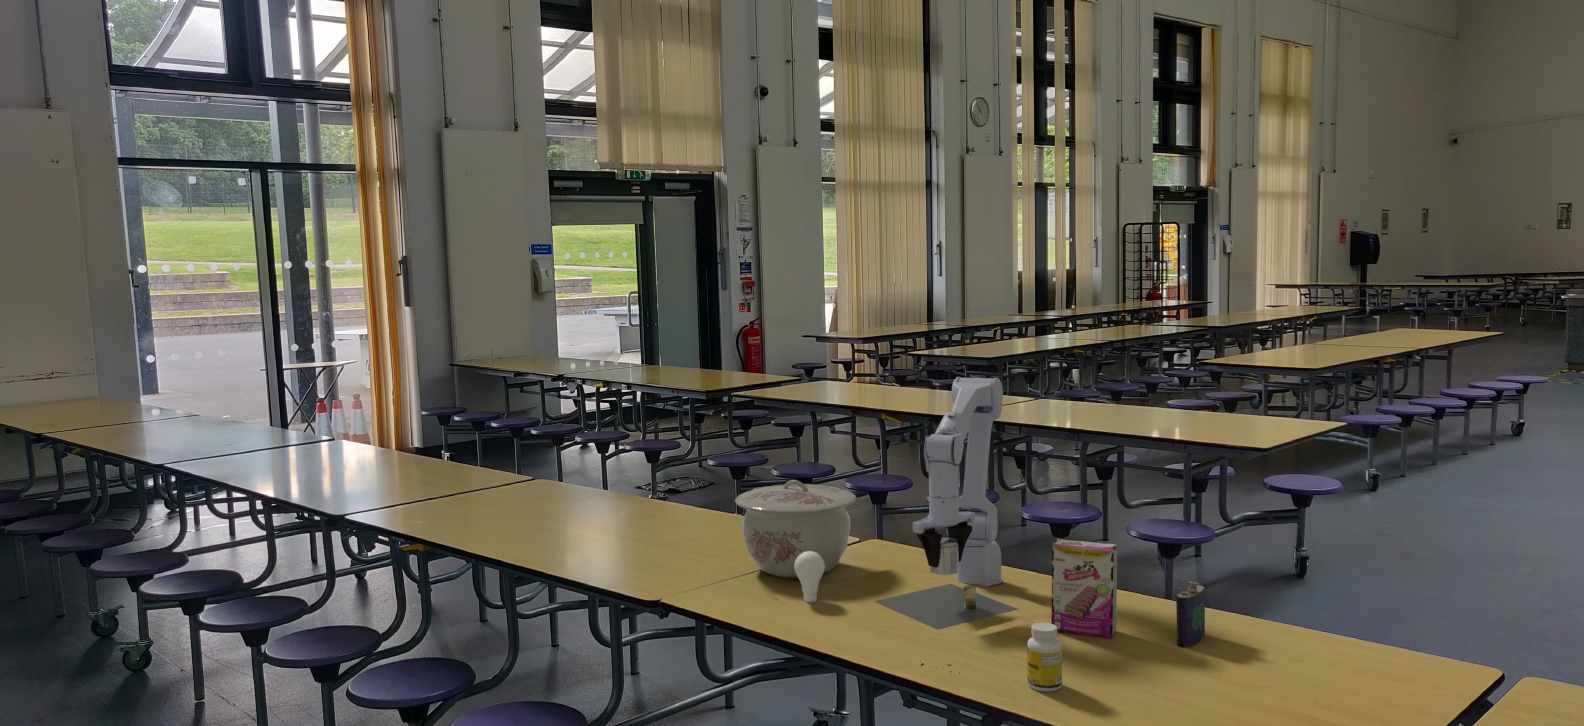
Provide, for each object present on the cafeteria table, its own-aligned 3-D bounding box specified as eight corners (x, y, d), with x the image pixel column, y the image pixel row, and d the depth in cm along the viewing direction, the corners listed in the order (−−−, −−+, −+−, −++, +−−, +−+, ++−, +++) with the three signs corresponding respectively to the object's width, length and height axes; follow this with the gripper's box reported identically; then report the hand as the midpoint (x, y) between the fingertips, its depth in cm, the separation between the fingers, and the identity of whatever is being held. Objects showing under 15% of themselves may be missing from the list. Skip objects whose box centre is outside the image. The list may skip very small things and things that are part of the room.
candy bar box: (1050, 631, 189) (1050, 544, 187) (1055, 623, 193) (1055, 537, 192) (1113, 639, 184) (1114, 550, 182) (1117, 630, 188) (1117, 543, 187)
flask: (1193, 631, 187) (1194, 573, 186) (1209, 634, 185) (1210, 576, 184) (1173, 645, 180) (1173, 586, 179) (1189, 649, 178) (1190, 589, 177)
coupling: (945, 565, 205) (944, 535, 205) (964, 571, 201) (963, 540, 200) (925, 570, 202) (924, 540, 202) (943, 576, 198) (943, 545, 197)
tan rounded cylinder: (971, 604, 202) (971, 584, 202) (979, 607, 200) (979, 587, 200) (960, 607, 201) (959, 587, 200) (968, 610, 199) (968, 590, 198)
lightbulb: (826, 600, 210) (825, 547, 209) (824, 609, 204) (823, 555, 203) (796, 600, 211) (795, 547, 210) (793, 609, 205) (792, 555, 204)
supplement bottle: (1023, 680, 167) (1022, 621, 166) (1055, 678, 167) (1055, 619, 166) (1033, 693, 161) (1033, 633, 160) (1067, 691, 162) (1067, 631, 161)
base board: (951, 588, 216) (950, 583, 216) (1018, 613, 199) (1018, 608, 199) (873, 605, 206) (873, 601, 206) (937, 634, 189) (937, 629, 188)
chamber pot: (861, 587, 218) (859, 491, 217) (732, 589, 219) (729, 493, 217) (854, 551, 246) (853, 466, 245) (740, 553, 247) (738, 469, 245)
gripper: (957, 487, 207) (958, 552, 209) (902, 497, 199) (903, 565, 201) (982, 492, 202) (982, 560, 203) (926, 503, 194) (927, 573, 195)
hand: (944, 563), depth 201 cm, fingers closed on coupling, 5 cm apart
